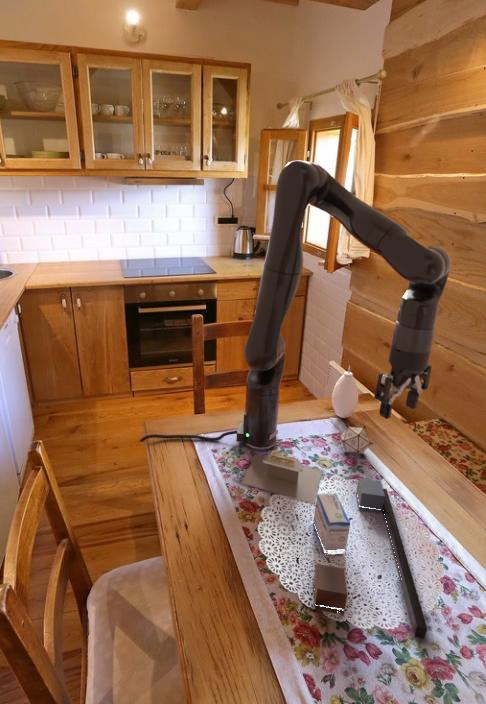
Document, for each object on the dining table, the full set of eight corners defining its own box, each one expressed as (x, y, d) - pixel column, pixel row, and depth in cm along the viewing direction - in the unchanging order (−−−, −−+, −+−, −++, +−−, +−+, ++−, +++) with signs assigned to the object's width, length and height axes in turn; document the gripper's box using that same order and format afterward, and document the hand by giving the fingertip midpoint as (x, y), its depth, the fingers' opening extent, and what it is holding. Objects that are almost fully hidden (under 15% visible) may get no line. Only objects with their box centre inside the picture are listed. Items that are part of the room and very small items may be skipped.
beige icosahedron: (354, 459, 115) (374, 431, 115) (362, 470, 107) (384, 439, 106) (328, 441, 116) (348, 412, 116) (333, 449, 107) (355, 418, 107)
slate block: (358, 510, 93) (361, 493, 91) (355, 494, 97) (358, 477, 96) (381, 513, 92) (385, 496, 90) (377, 497, 97) (380, 480, 95)
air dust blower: (331, 421, 126) (337, 369, 120) (328, 408, 134) (335, 358, 128) (357, 424, 125) (365, 372, 119) (353, 411, 132) (360, 360, 126)
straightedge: (414, 637, 67) (417, 626, 66) (378, 496, 97) (379, 487, 96) (424, 639, 67) (427, 628, 66) (385, 497, 97) (386, 488, 96)
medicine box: (312, 524, 89) (316, 493, 86) (332, 523, 89) (336, 492, 86) (324, 556, 81) (328, 523, 78) (345, 555, 82) (351, 522, 79)
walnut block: (314, 609, 71) (317, 589, 70) (313, 583, 76) (315, 563, 74) (343, 615, 70) (347, 594, 69) (340, 587, 75) (344, 568, 73)
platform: (255, 454, 111) (256, 433, 109) (322, 471, 105) (324, 450, 103) (241, 483, 100) (242, 461, 98) (314, 504, 94) (317, 481, 92)
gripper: (417, 332, 90) (404, 396, 96) (372, 343, 84) (361, 411, 89) (449, 344, 84) (433, 412, 89) (403, 357, 77) (389, 429, 83)
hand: (397, 411), depth 89 cm, fingers open, 8 cm apart
